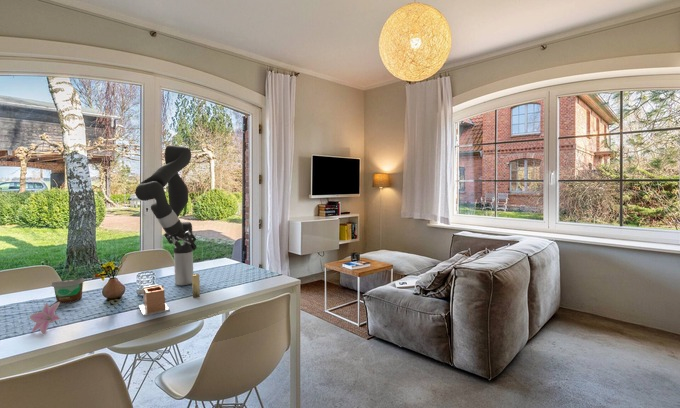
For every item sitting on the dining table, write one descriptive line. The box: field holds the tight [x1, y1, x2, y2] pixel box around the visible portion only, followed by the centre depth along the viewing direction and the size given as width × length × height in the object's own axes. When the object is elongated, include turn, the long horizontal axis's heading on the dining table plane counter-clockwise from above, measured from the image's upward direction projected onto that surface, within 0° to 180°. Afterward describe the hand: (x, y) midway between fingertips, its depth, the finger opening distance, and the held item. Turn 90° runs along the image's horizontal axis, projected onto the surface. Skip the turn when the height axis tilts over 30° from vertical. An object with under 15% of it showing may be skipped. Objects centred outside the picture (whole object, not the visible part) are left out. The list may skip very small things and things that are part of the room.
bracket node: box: [137, 283, 171, 317], centre depth 152 cm, size 13×10×10 cm
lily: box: [29, 301, 61, 335], centre depth 133 cm, size 12×12×10 cm
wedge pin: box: [191, 273, 201, 299], centre depth 167 cm, size 3×3×11 cm
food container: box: [51, 277, 85, 304], centre depth 161 cm, size 12×6×10 cm, turn 117°
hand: (187, 249), depth 162 cm, fingers open, 8 cm apart
